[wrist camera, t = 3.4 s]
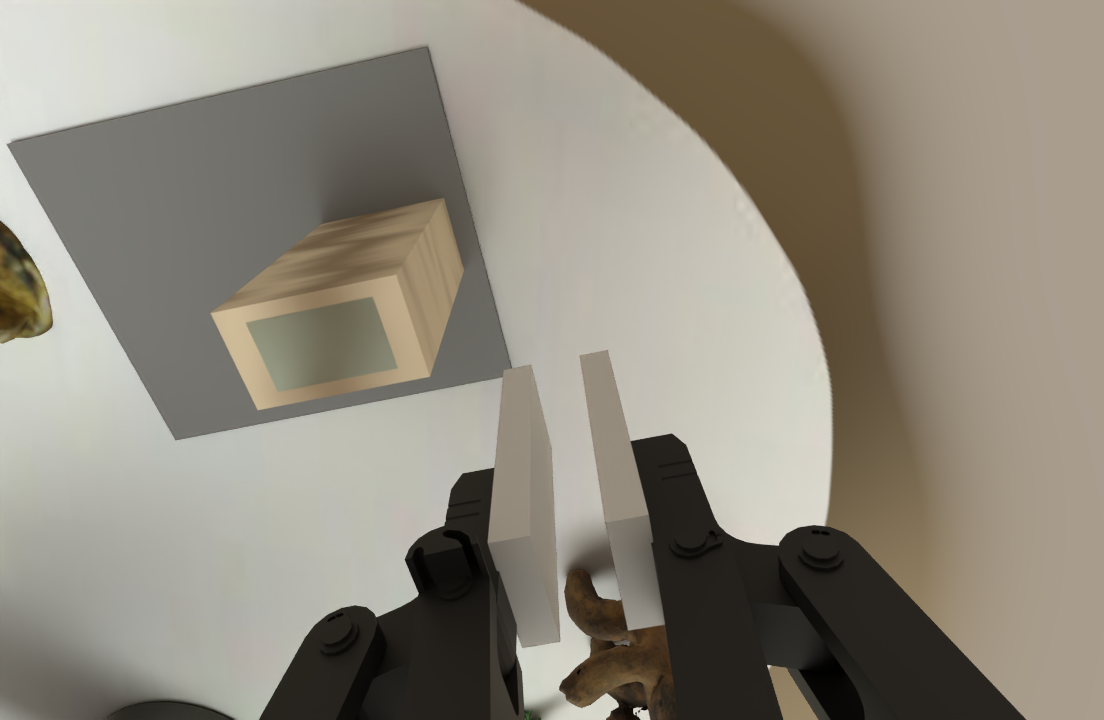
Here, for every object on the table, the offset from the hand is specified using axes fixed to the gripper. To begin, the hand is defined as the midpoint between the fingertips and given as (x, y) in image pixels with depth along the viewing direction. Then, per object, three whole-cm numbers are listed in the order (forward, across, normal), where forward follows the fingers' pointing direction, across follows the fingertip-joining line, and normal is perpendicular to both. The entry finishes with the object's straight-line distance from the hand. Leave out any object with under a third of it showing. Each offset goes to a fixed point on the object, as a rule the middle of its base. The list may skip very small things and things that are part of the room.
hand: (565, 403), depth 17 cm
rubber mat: (+22, +16, 0) cm, 28 cm away
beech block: (+22, +10, 0) cm, 24 cm away
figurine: (+23, 0, +33) cm, 40 cm away
